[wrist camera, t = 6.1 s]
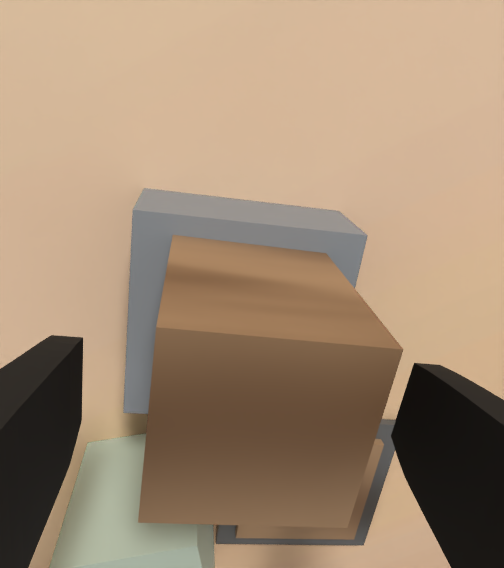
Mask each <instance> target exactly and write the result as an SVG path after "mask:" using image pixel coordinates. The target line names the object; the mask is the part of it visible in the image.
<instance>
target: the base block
mask: <svg viewBox="0 0 504 568" xmlns="http://www.w3.org/2000/svg"><path fill="white" fill-rule="evenodd" d="M173 235H179V236H188V237H196V238H204V239H213V240H221V241H229V242H238V243H246V244H254V245H263V246H271V247H279V248H287V249H296V250H304V251H312V252H320V253H327V255H328V256H329V257H330V258H331V260H332V261H333V262H334V263H335V265H336V266H337V267H338V268H339V270H340V271H341V272H342V273H343V275H344V276H345V277H346V278H347V280H348V281H349V282H350V283H351V285H352V286H353V287H354V288H355V286H356V281H357V277H358V273H359V269H360V265H361V260H362V256H363V252H364V248H365V244H366V240H367V234H365V233H364V232H363V231H362V230H361V229H360V228H358V227H357V226H356V225H355V224H354V223H352V222H351V221H350V220H349V219H348V218H347V217H345V216H344V215H343V214H342V213H341V212H339V211H335V210H326V209H318V208H309V207H301V206H292V205H283V204H275V203H266V202H258V201H249V200H241V199H232V198H224V197H215V196H207V195H198V194H190V193H181V192H172V191H164V190H155V189H147V188H144V190H143V191H142V193H141V195H140V197H139V199H138V201H137V203H136V205H135V206H134V208H133V216H132V238H131V260H130V281H129V303H128V325H127V347H126V368H125V390H124V412H123V413H139V414H148V409H149V398H150V387H151V377H152V366H153V355H154V344H155V333H156V325H157V319H158V314H159V308H160V303H161V297H162V292H163V286H164V281H165V275H166V270H167V264H168V258H169V253H170V247H171V242H172V236H173Z"/></svg>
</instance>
